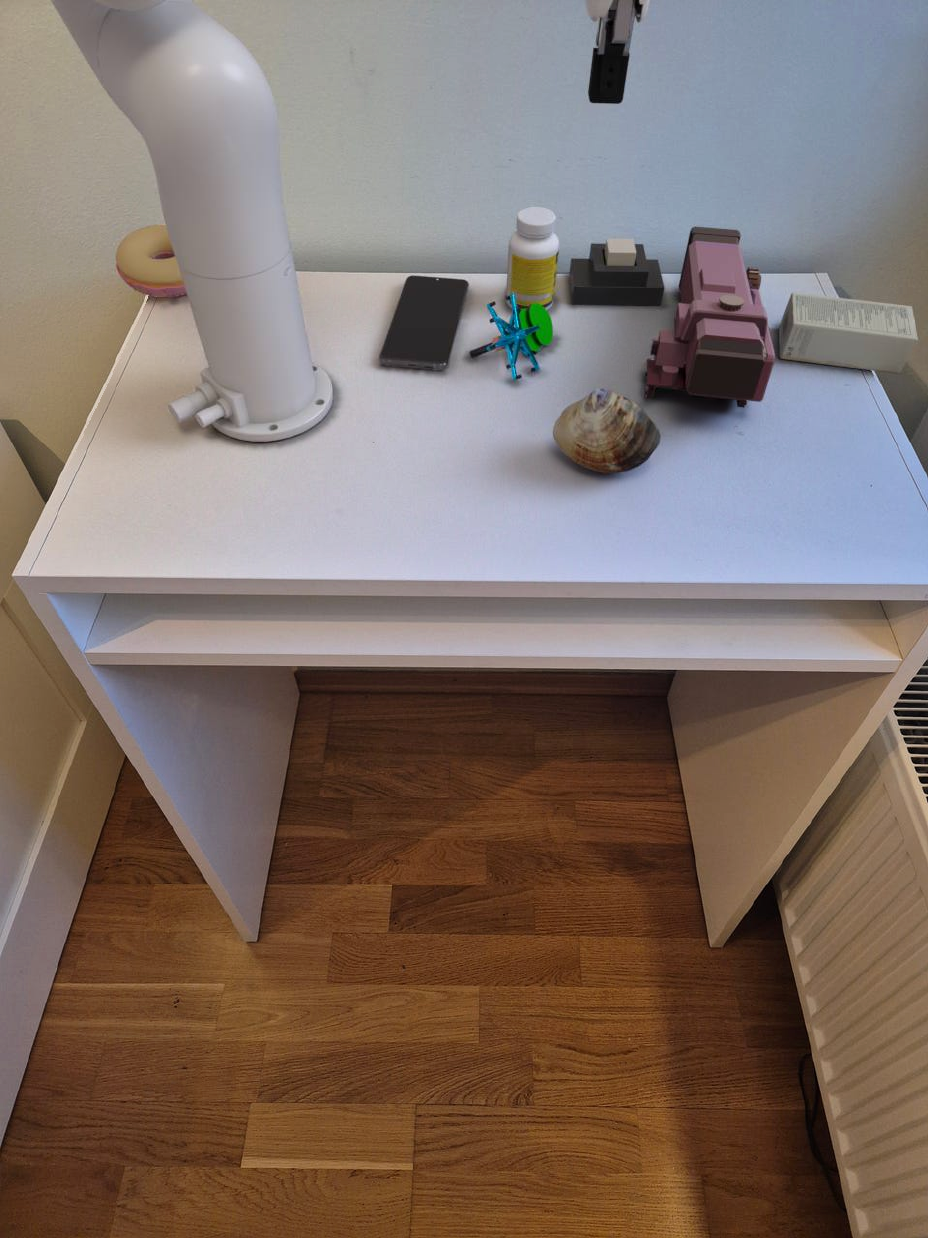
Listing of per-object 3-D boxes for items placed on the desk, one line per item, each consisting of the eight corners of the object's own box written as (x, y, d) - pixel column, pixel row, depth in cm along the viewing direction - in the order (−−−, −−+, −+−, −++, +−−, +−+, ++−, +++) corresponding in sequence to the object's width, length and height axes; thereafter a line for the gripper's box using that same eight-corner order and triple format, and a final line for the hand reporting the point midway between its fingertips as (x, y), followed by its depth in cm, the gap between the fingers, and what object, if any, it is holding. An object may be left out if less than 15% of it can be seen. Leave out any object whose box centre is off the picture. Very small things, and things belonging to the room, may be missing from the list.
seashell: (541, 473, 73) (549, 401, 66) (559, 434, 76) (567, 363, 69) (643, 498, 71) (661, 427, 64) (657, 458, 74) (675, 386, 67)
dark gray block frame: (654, 277, 93) (661, 243, 90) (660, 305, 89) (668, 271, 86) (569, 276, 93) (572, 242, 90) (571, 304, 89) (575, 270, 86)
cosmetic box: (777, 359, 83) (898, 378, 81) (792, 321, 79) (919, 340, 78) (778, 325, 87) (894, 342, 85) (792, 287, 83) (913, 304, 82)
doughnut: (94, 233, 89) (106, 268, 93) (135, 283, 84) (145, 317, 88) (185, 207, 93) (193, 241, 97) (228, 253, 89) (235, 287, 92)
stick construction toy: (521, 381, 77) (492, 301, 75) (465, 401, 81) (436, 325, 79) (572, 351, 86) (547, 279, 83) (519, 371, 90) (494, 302, 88)
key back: (631, 253, 89) (633, 238, 88) (633, 267, 87) (636, 252, 86) (604, 253, 89) (606, 238, 88) (606, 267, 87) (608, 252, 86)
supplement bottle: (560, 312, 88) (570, 224, 81) (514, 319, 88) (519, 231, 80) (544, 286, 92) (551, 199, 84) (499, 293, 91) (502, 206, 83)
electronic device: (739, 315, 92) (764, 224, 85) (763, 441, 73) (798, 337, 66) (644, 306, 93) (661, 215, 86) (643, 428, 74) (665, 324, 67)
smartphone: (377, 359, 81) (407, 273, 91) (378, 367, 82) (407, 282, 92) (447, 365, 81) (470, 278, 90) (447, 374, 82) (470, 287, 91)
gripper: (586, -186, 66) (562, 70, 80) (599, -150, 57) (569, 131, 71) (677, -184, 66) (636, 72, 80) (704, -147, 57) (652, 133, 71)
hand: (604, 99), depth 76 cm, fingers closed
